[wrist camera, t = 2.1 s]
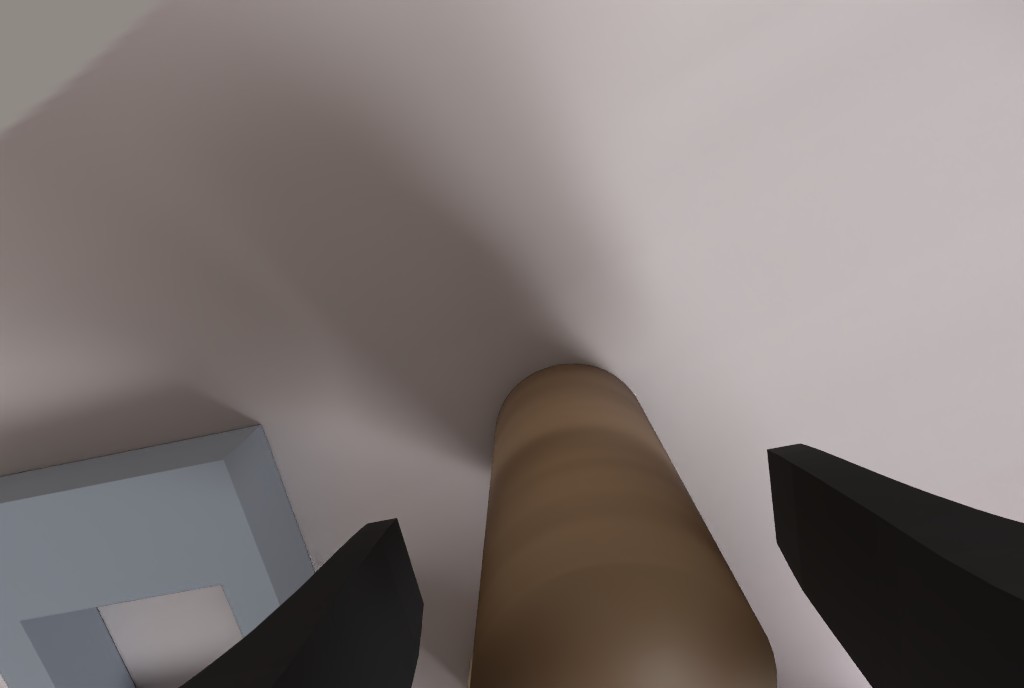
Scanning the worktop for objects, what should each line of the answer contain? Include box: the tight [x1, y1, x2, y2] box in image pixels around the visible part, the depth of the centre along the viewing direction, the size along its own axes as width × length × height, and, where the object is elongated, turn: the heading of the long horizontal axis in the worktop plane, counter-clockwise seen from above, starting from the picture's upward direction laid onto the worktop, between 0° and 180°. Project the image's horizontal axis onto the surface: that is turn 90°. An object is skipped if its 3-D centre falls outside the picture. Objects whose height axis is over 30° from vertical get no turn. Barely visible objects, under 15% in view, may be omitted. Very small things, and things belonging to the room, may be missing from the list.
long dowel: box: [470, 364, 777, 688], centre depth 11 cm, size 4×4×8 cm
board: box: [0, 425, 315, 688], centre depth 16 cm, size 12×8×2 cm, turn 12°
